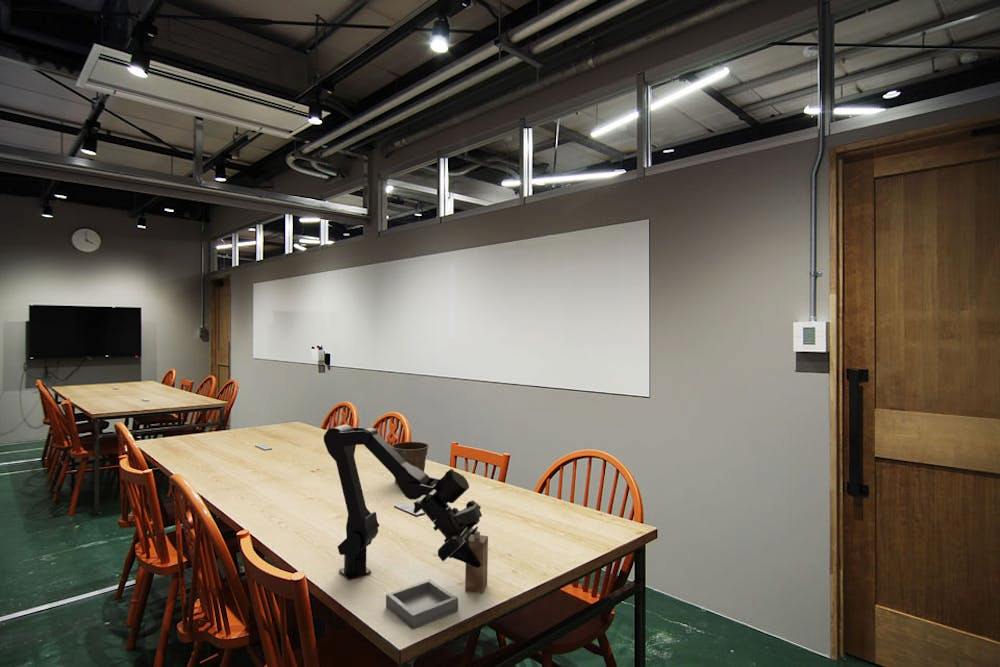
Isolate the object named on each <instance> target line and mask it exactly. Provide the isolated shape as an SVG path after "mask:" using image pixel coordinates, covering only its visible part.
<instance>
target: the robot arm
mask: <svg viewBox="0 0 1000 667" xmlns="http://www.w3.org/2000/svg"><path fill="white" fill-rule="evenodd" d="M323 443H324V445H325V448H326V451H327V454H329V456H331V458H332V459H333V460H334V462H335V464H336V469H337V472H338V476H339V477H338V478H339V480H340V485H341V489H342V492H343V493H342V494H343V498H344V501H345V506H346V510H347V519H346V523H345V525H346V526H345V532H346V538H345V539H344V540H343V541H342V542H341V543H340V544H339V545H338V546H337V550H338V553H339V555H340V556H344V558H343V560H344V561H343V568H339V569H338V572H339V573H340V574H341V575H342V576H344V577H345V578H346V579H347V580H352V579H356V578H359V577H363V576H366V575H369V574H371V573H372V570H371V569H370V568H369V567H367V551H368V550H367V547H368V546H369V545H371V544H372V541H373V540H374V539H375V538H376V536H377V535H378V533H379V527H380V524H379V522H378V518H377V517H378V516H377V512H376V511H373V512H370V510H369V509H368V508H367V506H366V500H365V497H364V493H363V488H362V485H361V484H362V483H361V481H360V480H361V479H360V476H359V472H358V468H357V464H356V460H355V452H356V447H357V445H362V446H365V448H366V449H367V450H368V451H369V452H370V453H371V454H372V455H373V456H374V457H375V458H376V459H377V460H378V461H379V463H381V464H382V465H383V466H384V467H385V468H386V469H387V471H388V472H390V473H391V474H392V476H393V477H394V480H395V479H396V482H397V483H396V482H395V483H396V484H397V487H398V489H399V490H400V491H401V492H402V494H403V495H404V498H405V497H406V498H407V499H408V500H416V501H415V502H413V505H414V508H413V513H414V515H416V514H418V513H419V511H421V510H422V511H423V512H424V514H425V515H426V516H427V517H428V519H429V520H430V521H431V522H432V524H434V526H433V529H434V531H435V532H437V531H439V532H440V533H441V534H442V535H443V537H444V540H443V541H444V543H443V544H442V545H441V546H440V547H439V549H437V556H438V558H439V559H440V560H441V562H445V561H446V560H447V559H448V558H450V559H454V560H458V561H460V562H463V563H464V564H466V563H467V564H470V565H472V566H474V567H476V568H479V567H480V566H481V564H480V562H479V561H478V559H477V557H476V556H475V555H474V553H473V552H472V550H471V549H470V547H469V536H470V535H471V534H474V532H476V531H478V529H479V527H478V526H477V524H479V522H480V521H481V519H480V518H481V517H483V515H482V512H481V509H482V508H481V507H482V506H481V505H479V503H478V502H476V501H474V500H470V501H468V502H466V507H465V508H463V509H461V510H459V509H458V508H457V507H453V508H452V507H451V506H450V505H449V504H454V503H455V502H456V501H457V500H458V499H459V498H460V497H461V496H462V495H463V494H464V493H466V492H467V491H468V490H469V488H470V485H469V482H468V481H467V479H466V477H465V476H464V475H462V474H460V473H459V472H458V471H455V470H454V469H453V468H449V469H448V470H447V471H446V472H445V474H444V475H443V476H442V477H441V478H437V477H432V476H429V475H428V474H427V473H426V472H425V471H424V472H423V471H422V470H420V469H419V468H417V467H415V466H413V465H410V464H409V463H407V462H406V461H405V460H404V459H403V458H402V457H401V456H400V455H399V454H398V453H397V452H396V451H395V450H394V449H393V448H392V447H391V446H392V445H391V444H389V442H387V441H386V439H385V438H384V437H383V436H382V435H381V434H379V431H378V430H377V429H376V428H374V427H359V426H358V427H352V426H351V425H349V424H340V425H338V426H335V427H331V428H329V429H327V430H326V431H325V434H324V435H323ZM434 490H435V492H434V493H432V492H433V491H434ZM431 493H432V494H431ZM422 496H424V497H423V498H422ZM419 498H421V500H419ZM448 503H449V504H448ZM474 526H476V527H474Z"/></svg>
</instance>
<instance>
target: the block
mask: <svg viewBox="0 0 1000 667" xmlns="http://www.w3.org/2000/svg"><path fill="white" fill-rule="evenodd" d="M488 546H489V536H488V535H481V532H480V531H478V530H477V531H476V532H474V534H471V535H470V536H469V547H470V549H471V550H472V552H473V553H474V555H475V556H476V557H477V559H478V561H479V562H480V564H481V566H480V567H479V568H476V567H474V566H472V565H470V564H467V563H465V571H464V572H465V575H464V576H465V578H464V579H465V581H464V582H465V584H464V585H465V586H464V592H468V593H474V594H475V593H476V594H484V592H485V590H486V588H487V586H488V562H489V561H488V560H489V558H488V557H489V555H488V553H489V552H488V551H489V549H488V548H489V547H488Z"/></svg>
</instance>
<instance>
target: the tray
mask: <svg viewBox="0 0 1000 667" xmlns="http://www.w3.org/2000/svg"><path fill="white" fill-rule="evenodd" d="M385 608H386V609H387V610H389V611H390V612H391V613H393V615H395V616H396V617H397V618H398V619H399V620H401V621H402V623H404V624H405V625H407V626H408V628H410V629H411V630H412V631H414V630H415V629H418V628H420V627H423V626H425V625H428V624H431V623H433V622H435V621H437V620H440V619H442V618H445V617H447V616H449V615H452V614H454V613H457V612H459V598H458V597H457V596H456V595H454V594H453V593H452V592H450V591H448V589H445V588H444V587H443V586H441V585H440V584H438V583H436V582H435V581H434V580H432V579H431V578H430V579H426V580H424V581H421V582H417V583H414V584H411V585H408V586H406V587H402V588H400V589H398V590H394V591H391V592H389V593H388V592H387V593H386V594H385Z"/></svg>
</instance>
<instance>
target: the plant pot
mask: <svg viewBox="0 0 1000 667" xmlns="http://www.w3.org/2000/svg"><path fill="white" fill-rule="evenodd" d="M390 446H391V447H392V448H393V449H394V450H395V451H396V452H397V453H398V454H399V455H400V456H401V457H402V458H403V459H404V460H405V461H406V462H407V463H409V464H410V465H413V466H415V467H417V468H419V469H420V470H422V471H423V472H424V473H425V467H426V459H427V455H428V449H429V447H430V446H429V444H428V443H425V442H419V441H404V442H403V441H402V442H396V443H393V444H392V445H390ZM394 482H395V484H397V482H396V479H395V478H394Z"/></svg>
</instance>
